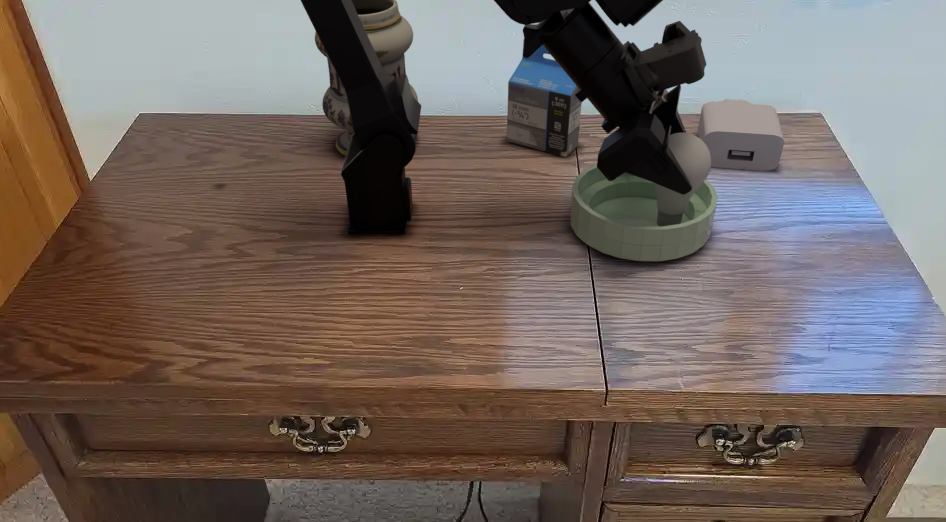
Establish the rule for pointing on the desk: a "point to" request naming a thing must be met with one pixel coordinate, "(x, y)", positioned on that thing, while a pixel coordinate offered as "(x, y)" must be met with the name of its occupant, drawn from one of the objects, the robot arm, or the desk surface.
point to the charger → (741, 135)
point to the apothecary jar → (389, 44)
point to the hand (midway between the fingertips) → (691, 177)
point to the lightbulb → (696, 169)
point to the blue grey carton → (543, 106)
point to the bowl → (637, 217)
